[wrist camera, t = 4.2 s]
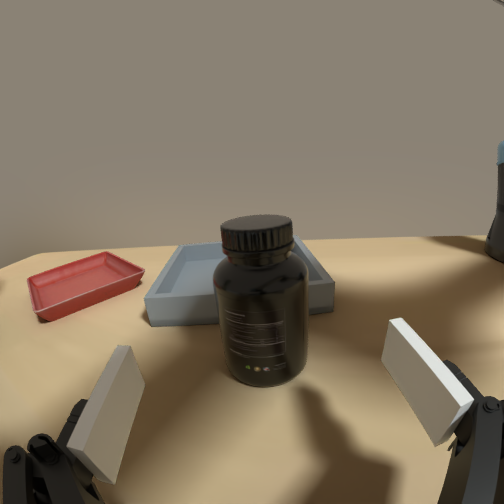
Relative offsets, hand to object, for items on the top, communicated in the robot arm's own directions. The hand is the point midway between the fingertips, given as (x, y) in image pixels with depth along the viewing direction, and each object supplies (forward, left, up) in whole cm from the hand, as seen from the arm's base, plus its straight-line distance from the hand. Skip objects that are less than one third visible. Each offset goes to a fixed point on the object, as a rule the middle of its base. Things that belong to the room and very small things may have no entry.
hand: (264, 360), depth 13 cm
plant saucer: (+27, -26, -7) cm, 38 cm away
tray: (+1, -25, -7) cm, 26 cm away
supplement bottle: (-1, -8, -7) cm, 10 cm away
